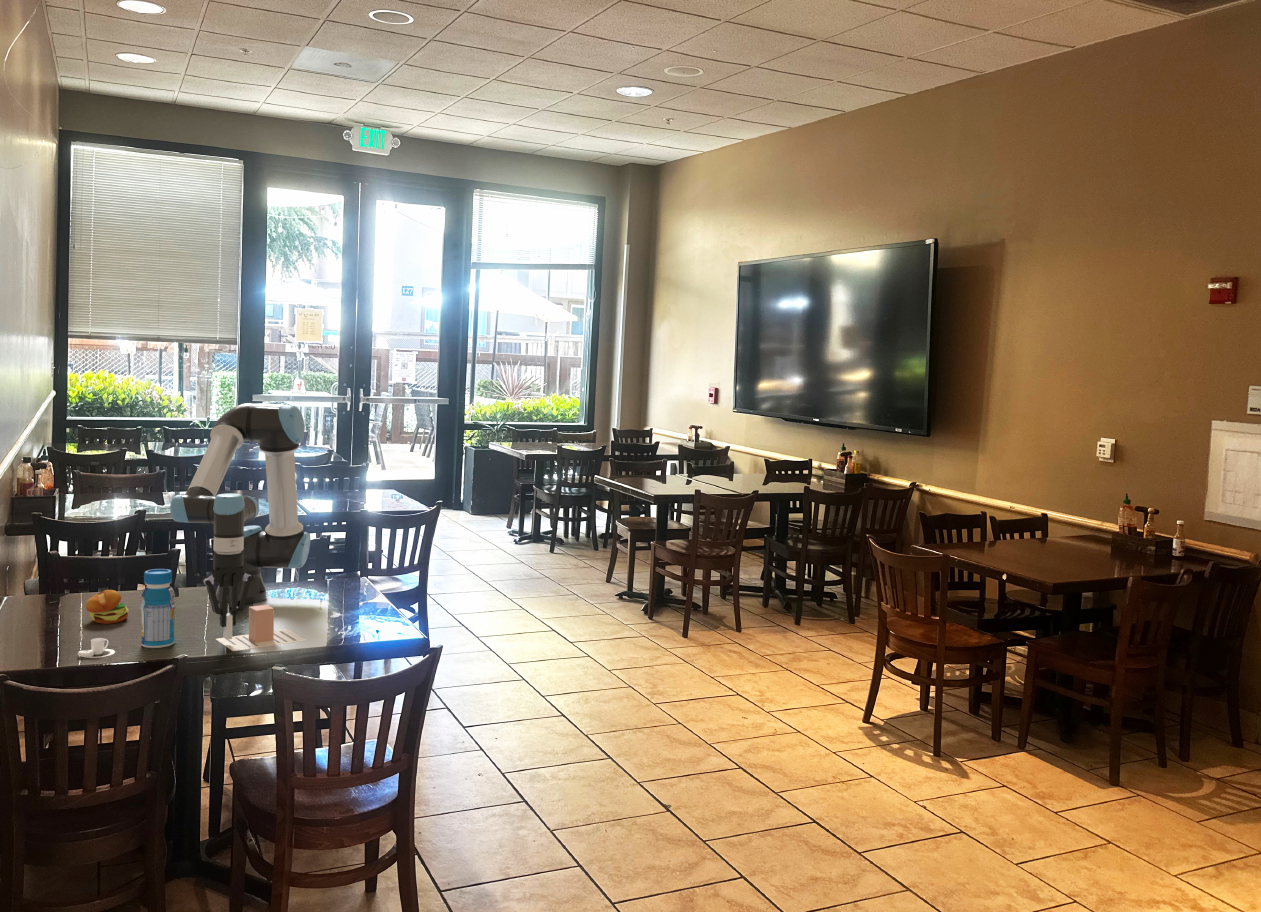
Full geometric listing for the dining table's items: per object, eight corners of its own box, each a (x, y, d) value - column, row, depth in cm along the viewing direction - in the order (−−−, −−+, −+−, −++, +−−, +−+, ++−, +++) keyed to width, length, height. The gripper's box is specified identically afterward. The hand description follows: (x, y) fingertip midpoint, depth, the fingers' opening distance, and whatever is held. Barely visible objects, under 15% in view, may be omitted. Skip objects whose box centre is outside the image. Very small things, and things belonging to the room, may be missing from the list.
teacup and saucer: (79, 661, 256) (79, 645, 256) (74, 653, 263) (74, 638, 262) (117, 657, 261) (117, 641, 261) (112, 649, 268) (112, 634, 267)
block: (248, 638, 280) (249, 606, 280) (266, 636, 284) (267, 604, 283) (255, 643, 277) (255, 610, 276) (273, 640, 280) (273, 608, 279)
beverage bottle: (152, 650, 266) (153, 575, 265) (133, 645, 271) (133, 571, 269) (181, 644, 274) (182, 571, 272) (162, 638, 278) (163, 566, 276)
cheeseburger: (138, 618, 297) (132, 587, 294) (107, 634, 288) (100, 603, 285) (114, 613, 301) (107, 582, 298) (83, 629, 292) (75, 597, 289)
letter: (215, 639, 279) (215, 638, 279) (286, 630, 292) (286, 628, 292) (233, 652, 268) (233, 651, 268) (306, 641, 281) (306, 640, 281)
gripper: (208, 556, 265) (207, 644, 267) (258, 552, 273) (257, 637, 275) (198, 551, 271) (198, 638, 273) (248, 547, 279) (247, 631, 281)
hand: (227, 637), depth 274 cm, fingers closed
